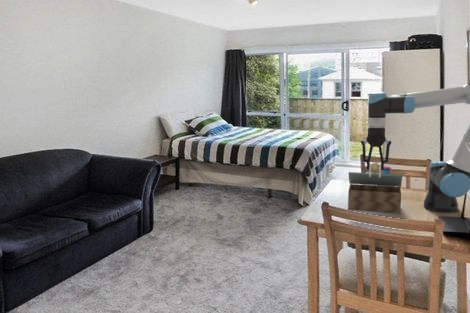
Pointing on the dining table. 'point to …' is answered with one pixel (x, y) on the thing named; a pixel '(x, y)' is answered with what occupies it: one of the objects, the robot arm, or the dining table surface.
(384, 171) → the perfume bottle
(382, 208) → the storage box
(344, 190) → the dining table surface
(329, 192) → the dining table surface
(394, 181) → the box lid
